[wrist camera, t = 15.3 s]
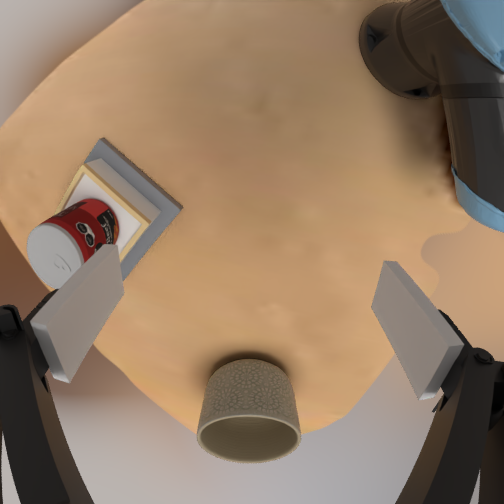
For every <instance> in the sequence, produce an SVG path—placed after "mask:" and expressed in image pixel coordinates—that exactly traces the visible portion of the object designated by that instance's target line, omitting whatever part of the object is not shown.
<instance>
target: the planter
mask: <svg viewBox="0 0 504 504" xmlns="http://www.w3.org/2000/svg"><path fill="white" fill-rule="evenodd" d="M197 441H198V443H199V445H200V446H201V447H202V448H203V449H204V450H205V451H206V452H208V453H209V454H211V455H213V456H215V457H217V458H220V459H223V460H227V461H232V462H237V463H262V462H269V461H273V460H277V459H280V458H282V457H284V456H287V455H288V454H290V453H292V452H293V451H294V450H295V449H296V448H297V447H298V446H299V444H300V442H301V431H300V424H299V418H298V413H297V407H296V401H295V395H294V391H293V387H292V384H291V382H290V380H289V378H288V377H287V375H286V374H285V373H284V372H283V371H282V370H281V369H280V368H278V367H277V366H275V365H273V364H271V363H269V362H266V361H262V360H257V359H241V360H236V361H233V362H230V363H227V364H225V365H223V366H222V367H220V368H219V369H218V370H217V371H216V372H215V373H214V374H213V375H212V376H211V378H210V379H209V381H208V384H207V387H206V390H205V394H204V400H203V405H202V409H201V414H200V419H199V424H198V430H197Z"/></svg>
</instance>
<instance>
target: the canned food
mask: <svg viewBox="0 0 504 504" xmlns="http://www.w3.org/2000/svg"><path fill="white" fill-rule="evenodd" d="M118 234H119V225H118V220H117V218H116V215H115V214H114V212H113V211H112V209H111V208H110V207H109V206H108V205H107V204H105V203H104V202H102V201H100V200H97V199H84V200H81V201H79V202H77V203H75V204H73V205H72V206H70V207H68V208H66V209H64V210H63V211H61V212H59V213H57V214H56V215H54V216H52V217H51V218H49V219H47V220H46V221H44V222H43V223H41V224H39V225H38V226H37V227H35V229H33V230H32V232H31V233H30V235H29V237H28V241H27V254H28V258H29V261H30V263H31V266H32V268H33V269H34V271H35V273H36V274H37V275H38V276H39V278H40V279H41V280H42V281H43V282H45V283H46V284H47V285H49V286H50V287H52V288H54V289H60V288H61V287H62V286H63V285H64V284H65V283H66V282H67V281H68V279H69V278H70V277H71V276H72V275H73V274H74V273H75V272H76V271H77V270H78V269H79V268H80V267H81V266H82V265H83V264H84V263H85V262H86V261H87V260H88V259H89V258H90V257H92V256H93V255H94V254H95V253H96V252H97V251H98V250H99V249H100V248H101V247H102V246H103V245H104V244H112V245H115V244H116V241H117V239H118Z"/></svg>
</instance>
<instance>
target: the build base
mask: <svg viewBox="0 0 504 504" xmlns="http://www.w3.org/2000/svg"><path fill="white" fill-rule="evenodd" d="M84 199H97V200H100V201H102V202H104V203H105V204H107V205H108V206H109V207H110V208H111V209H112V211H113V212H114V214H115V215H116V218H117V220H118V225H119V234H118V239H117V241H116V244H115V245H118V250H119V259H120V266H121V274H122V280H123V281H124V280H125V278H126V277H127V276H128V274H129V273H130V272H131V271H132V269H133V268H134V267H135V265H136V264H137V263H138V262H139V260H140V259H141V258H142V257H143V255H144V254H145V253H146V252H147V250H148V249H149V248H150V247H151V245H152V244H153V243H154V242H155V241H156V239H157V238H158V237H159V236H160V235H161V233H162V232H163V231H164V230H165V229H166V227H167V226H168V225H169V224H170V223H171V221H172V220H173V219H174V218H175V217H176V216H177V214H178V213H179V212H180V211H181V210H182V208H183V207H182V206H181V205H180V204H179V203H178V202H176V201H175V200H174V199H173V198H172V197H171V196H170V195H168V194H167V193H166V192H165V191H164V190H163V189H161V188H160V187H159V186H158V185H157V184H156V183H155V182H153V181H152V180H151V179H150V178H149V177H148V176H147V175H145V174H144V173H143V172H142V171H141V170H140V169H139V168H137V167H136V166H135V165H134V164H133V163H132V162H131V161H130V160H128V159H127V158H126V157H125V156H124V155H123V154H122V153H120V152H119V151H118V150H117V149H116V148H115V147H114V146H113V145H111V144H110V143H109V142H108V141H107V140H106V139H105V138H102V139H99V140H98V142H97V143H96V145H95V146H94V148H93V149H92V151H91V152H90V154H89V156H88V157H87V159H86V160H85V162H84V164H82V165H81V167H80V169H79V170H78V172H77V174H76V175H75V177H74V179H73V180H72V182H71V184H70V186H69V187H68V189H67V191H66V193H65V195H64V196H63V198H62V200H61V202H60V204H59V206H58V208H57V210H56V212H55V213H54V215H56V214H57V213H59V212H61V211H63V210H64V209H66V208H68V207H70V206H72V205H73V204H75V203H77V202H79V201H81V200H84ZM54 215H53V216H54Z"/></svg>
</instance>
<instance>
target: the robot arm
mask: <svg viewBox="0 0 504 504" xmlns="http://www.w3.org/2000/svg"><path fill="white" fill-rule="evenodd" d="M359 44H360V49H361V53H362V56H363V59H364V61H365V63H366V65H367V67H368V69H369V70H370V72H371V73H372V74H373V76H374V77H375V78H376V79H377V80H378V81H379V82H380V83H381V84H382V85H383V86H384V87H386V88H387V89H388V90H390V91H391V92H393V93H395V94H397V95H399V96H402V97H405V98H410V99H424V98H431V97H434V96H436V95H438V94H440V93H441V94H442V100H443V104H444V109H445V114H446V120H447V126H448V133H449V140H450V147H451V156H452V165H451V168H452V172H453V175H454V178H455V186H456V194H457V198H458V201H459V203H460V205H461V206H462V207H463V208H464V210H465V212H466V213H467V214H468V215H469V216H471V217H472V218H473V219H475V220H476V221H478V222H479V223H481V224H483V225H485V226H487V227H489V228H492V229H494V230H497V231H500V232H504V0H411V1H410V2H402V3H389V4H385V5H382V6H380V7H378V8H377V9H375V10H374V11H373V12H371V13H370V14H369V15H368V16H367V17H366V18H365V20H364V21H363V23H362V26H361V29H360V35H359ZM123 295H124V287H123V280H122V274H121V266H120V259H119V250H118V245H112V244H104V245H103V246H102V247H101V248H100V249H99V250H98V251H97V252H96V253H95V254H94V255H93V256H92V257H90V258H89V259H88V260H87V261H86V262H85V263H84V264H83V265H82V266H81V267H80V268H79V269H78V270H77V271H76V272H75V273H74V274H73V275H72V276H71V277H70V278H69V279H68V281H67V282H66V283H65V284H64V285H63V286H62V287H61V288H60V289H55V290H54V291H52V292H50V293H49V294H47V295H46V296H45V297H44V299H43V300H42V301H41V302H40V303H39V304H38V305H37V306H36V308H34V309H33V310H32V311H31V313H30V314H29V315H28V316H27V317H26V318H25V319H24V320H23V321H22V320H21V318H20V315H19V312H18V309H17V307H15V306H14V305H3V306H0V504H3V499H2V477H1V454H2V451H1V450H2V432H3V435H4V440H5V446H6V450H7V455H8V460H9V464H10V468H11V472H12V476H13V479H14V483H15V486H16V490H17V493H18V496H19V499H20V502H21V504H94V502H93V500H92V498H91V496H90V494H89V492H88V490H87V488H86V486H85V484H84V482H83V480H82V478H81V476H80V473H79V471H78V468H77V466H76V464H75V461H74V459H73V456H72V454H71V451H70V449H69V446H68V444H67V441H66V438H65V436H64V433H63V430H62V427H61V424H60V421H59V418H58V415H57V412H56V409H55V405H54V402H53V398H52V395H51V392H50V387H49V383H48V380H47V378H46V376H45V373H46V372H47V370H48V368H49V369H50V371H51V373H52V375H53V377H54V378H55V379H58V380H61V381H65V382H68V383H70V381H71V379H72V378H73V376H74V374H75V372H76V371H77V369H78V367H79V365H80V364H81V362H82V360H83V359H84V357H85V355H86V354H87V352H88V350H89V348H90V347H91V345H92V344H93V342H94V340H95V339H96V337H97V335H98V334H99V332H100V330H101V329H102V327H103V326H104V324H105V322H106V321H107V319H108V318H109V316H110V315H111V313H112V311H113V310H114V308H115V307H116V305H117V304H118V302H119V301H120V299H121V298H122V296H123ZM371 308H372V310H373V311H374V313H375V315H376V317H377V319H378V321H379V322H380V324H381V326H382V328H383V330H384V332H385V334H386V336H387V337H388V339H389V341H390V343H391V345H392V347H393V349H394V351H395V353H396V355H397V357H398V359H399V361H400V363H401V365H402V367H403V369H404V371H405V373H406V375H407V377H408V379H409V381H410V383H411V385H412V387H413V389H414V391H415V393H416V395H417V398H418V400H423V399H428V398H433V397H434V396H435V395H436V393H437V392H438V390H439V388H440V387H441V388H442V390H443V392H444V394H443V396H442V398H441V399H440V400H439V402H438V403H437V405H436V406H435V408H434V409H433V411H432V412H435V411H436V413H435V416H434V419H433V422H432V425H431V427H430V430H429V432H428V435H427V438H426V440H425V442H424V445H423V447H422V450H421V452H420V455H419V457H418V459H417V461H416V463H415V466H414V468H413V470H412V472H411V474H410V476H409V478H408V480H407V482H406V484H405V486H404V488H403V490H402V492H401V494H400V496H399V498H398V499H397V501H396V503H395V504H470V501H471V498H472V495H473V492H474V488H475V485H476V481H477V478H478V474H479V470H480V488H479V489H480V490H479V502H478V504H504V362H500V361H495V360H494V358H493V356H492V355H491V354H490V353H489V352H487V351H486V350H484V349H481V348H473V347H472V346H471V345H470V343H469V342H468V341H467V339H466V338H465V337H464V335H463V334H462V333H461V332H460V330H458V328H457V326H456V325H455V324H454V323H453V321H452V320H451V319H450V318H449V316H448V315H446V314H445V313H443V312H442V311H441V310H437V308H436V307H435V306H434V305H433V304H432V303H431V301H430V300H429V299H428V297H427V296H426V295H425V294H424V293H423V291H422V290H421V289H420V288H419V287H418V285H417V284H416V283H415V282H414V281H413V280H412V278H411V277H410V276H409V275H408V274H407V273H406V271H405V270H404V269H403V268H402V267H401V266H400V265H399V264H398V262H396V261H384V262H383V266H382V270H381V274H380V278H379V281H378V285H377V289H376V292H375V296H374V299H373V303H372V306H371ZM436 409H437V410H436Z"/></svg>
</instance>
